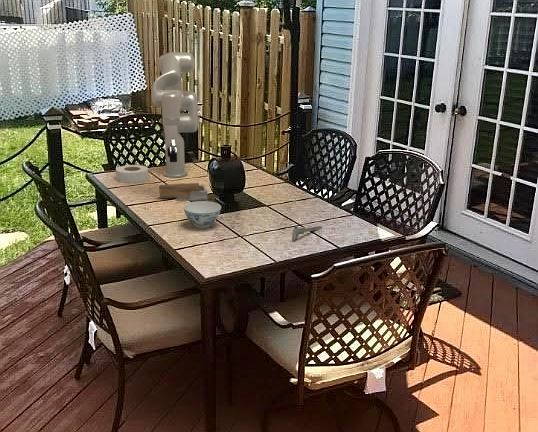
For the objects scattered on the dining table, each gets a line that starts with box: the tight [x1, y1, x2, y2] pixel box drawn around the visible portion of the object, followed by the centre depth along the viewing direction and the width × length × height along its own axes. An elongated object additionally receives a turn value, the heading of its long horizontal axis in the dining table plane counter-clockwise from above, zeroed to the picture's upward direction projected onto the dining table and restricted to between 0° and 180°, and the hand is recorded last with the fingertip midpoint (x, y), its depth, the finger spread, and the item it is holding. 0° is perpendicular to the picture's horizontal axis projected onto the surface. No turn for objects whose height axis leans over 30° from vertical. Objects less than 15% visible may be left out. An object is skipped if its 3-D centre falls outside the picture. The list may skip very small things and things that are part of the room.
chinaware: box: [183, 200, 222, 229], centre depth 256 cm, size 15×15×8 cm
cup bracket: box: [175, 184, 209, 202], centre depth 292 cm, size 11×14×4 cm
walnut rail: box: [158, 182, 200, 199], centre depth 290 cm, size 4×18×5 cm, turn 104°
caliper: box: [291, 224, 324, 242], centre depth 249 cm, size 20×1×6 cm, turn 143°
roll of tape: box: [115, 164, 149, 184], centre depth 317 cm, size 16×16×6 cm
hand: (172, 159), depth 284 cm, fingers open, 9 cm apart
